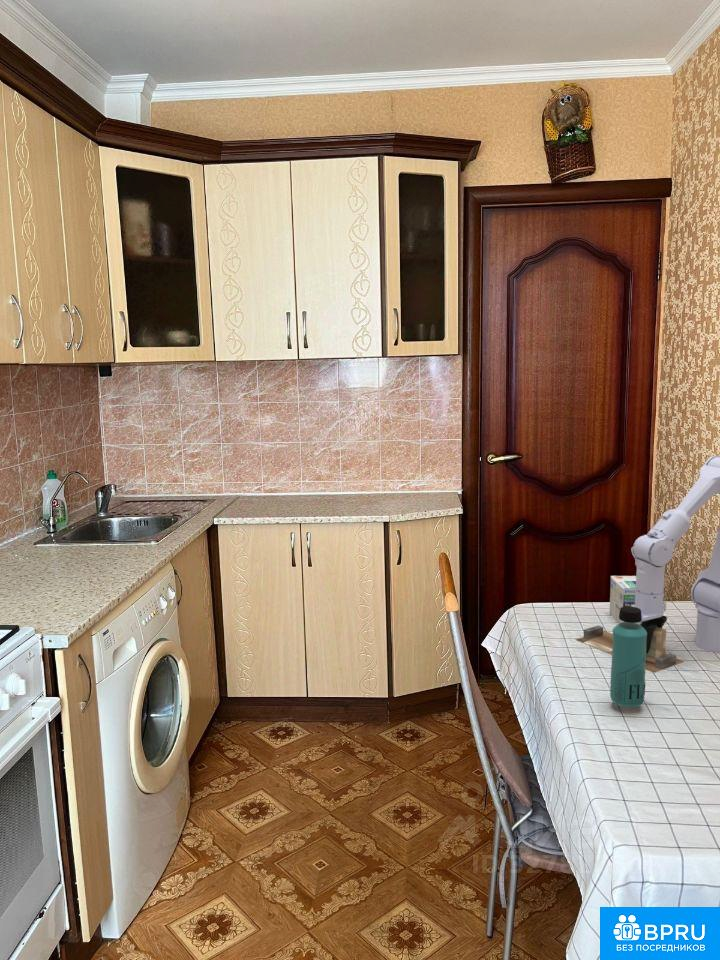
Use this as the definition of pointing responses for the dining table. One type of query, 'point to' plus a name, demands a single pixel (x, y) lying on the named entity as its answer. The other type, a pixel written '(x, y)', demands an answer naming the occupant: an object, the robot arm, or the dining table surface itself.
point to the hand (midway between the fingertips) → (646, 649)
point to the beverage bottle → (628, 659)
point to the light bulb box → (621, 594)
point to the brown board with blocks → (605, 641)
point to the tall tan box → (657, 645)
